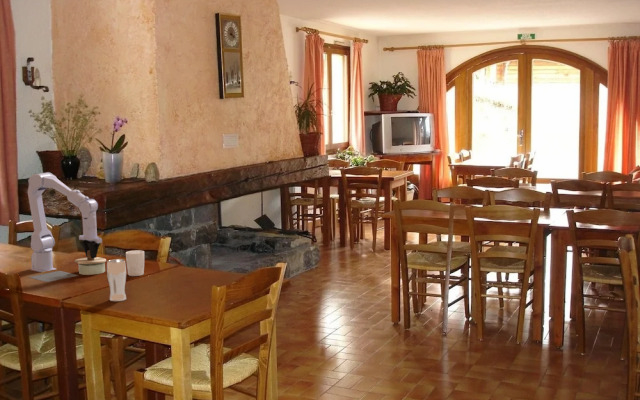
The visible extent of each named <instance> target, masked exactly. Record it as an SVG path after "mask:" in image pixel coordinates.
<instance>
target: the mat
mask: <svg viewBox="0 0 640 400" xmlns="http://www.w3.org/2000/svg"><path fill="white" fill-rule="evenodd" d="M78 276H80V275H79V274H75V273H72V272H67V271H63V270H57V271H51V272H47V273H41V274H37V275H32V276H28V278H30V279H33V280H38V281H41V282H45V283H49V282H50V283H51V282H54V281H61V280H63V279H69V278H73V277H78Z"/></svg>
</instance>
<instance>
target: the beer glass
mask: <svg viewBox="0 0 640 400" xmlns="http://www.w3.org/2000/svg"><path fill="white" fill-rule="evenodd" d="M106 262H107V263H106V273H107V280H108V285H109V290H110V291H109V293H110V294H109V301H110V302H115V303H116V302H117V303H118V302H123V301H126V300H127V295H126V290H125V289H126V281H127V263H126V259H123V258H114V259H109V260H106Z"/></svg>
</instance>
